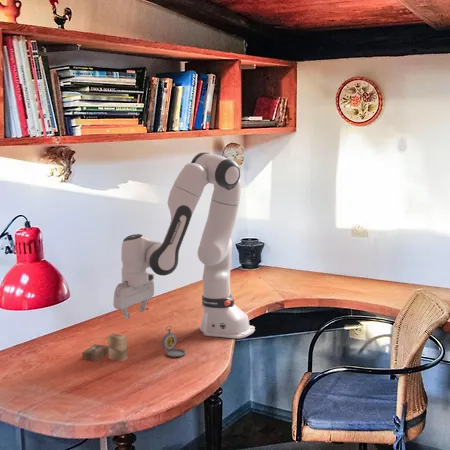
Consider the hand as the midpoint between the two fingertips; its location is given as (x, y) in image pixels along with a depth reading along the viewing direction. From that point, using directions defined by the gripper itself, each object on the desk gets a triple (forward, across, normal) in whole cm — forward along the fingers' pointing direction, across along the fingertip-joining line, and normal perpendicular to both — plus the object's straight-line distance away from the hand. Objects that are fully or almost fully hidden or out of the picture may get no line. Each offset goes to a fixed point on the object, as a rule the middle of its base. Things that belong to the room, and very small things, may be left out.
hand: (134, 314), depth 230 cm
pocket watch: (+13, +2, -16) cm, 21 cm away
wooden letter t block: (+13, -10, 0) cm, 17 cm away
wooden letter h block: (+12, -8, +9) cm, 18 cm away
